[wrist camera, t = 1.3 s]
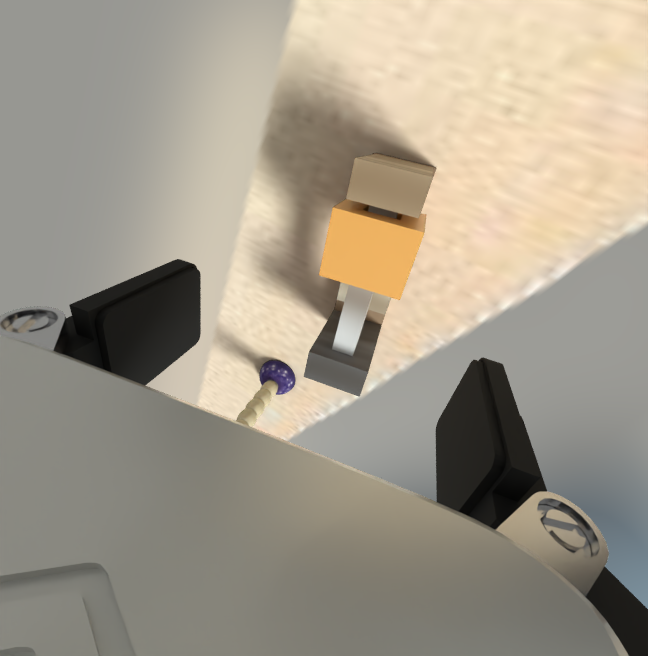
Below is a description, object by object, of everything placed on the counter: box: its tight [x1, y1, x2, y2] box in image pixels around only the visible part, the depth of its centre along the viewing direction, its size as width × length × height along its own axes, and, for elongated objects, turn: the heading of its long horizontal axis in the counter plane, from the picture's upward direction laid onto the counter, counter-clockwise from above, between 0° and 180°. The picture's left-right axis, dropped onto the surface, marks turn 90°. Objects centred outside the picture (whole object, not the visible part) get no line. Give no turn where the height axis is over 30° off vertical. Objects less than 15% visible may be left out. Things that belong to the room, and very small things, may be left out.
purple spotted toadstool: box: [236, 361, 295, 427], centre depth 30 cm, size 5×5×17 cm
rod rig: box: [304, 153, 436, 396], centre depth 24 cm, size 15×4×8 cm, turn 168°
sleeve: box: [319, 199, 426, 300], centre depth 20 cm, size 4×5×5 cm
